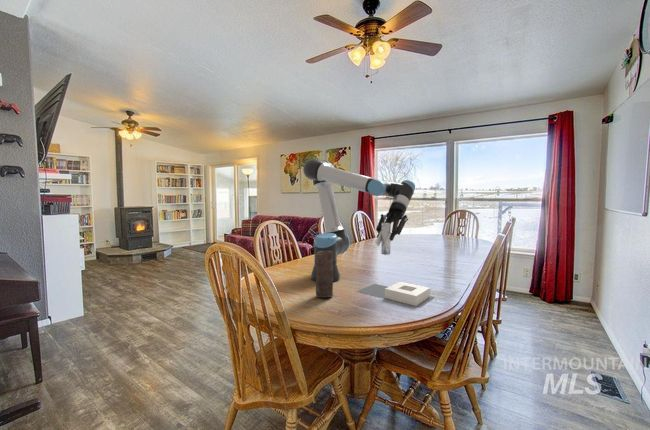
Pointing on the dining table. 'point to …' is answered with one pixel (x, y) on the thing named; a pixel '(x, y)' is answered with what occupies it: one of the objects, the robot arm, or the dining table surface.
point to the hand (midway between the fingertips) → (381, 244)
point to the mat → (380, 292)
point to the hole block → (407, 293)
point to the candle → (324, 274)
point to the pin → (385, 232)
